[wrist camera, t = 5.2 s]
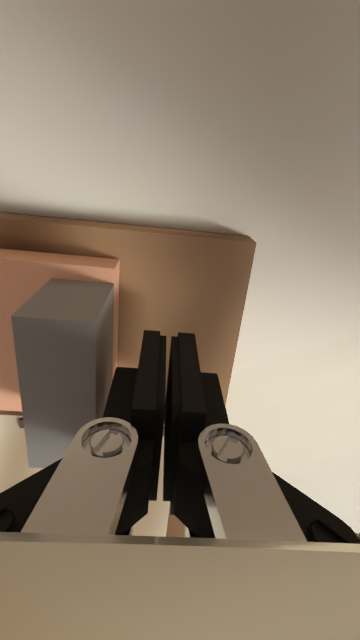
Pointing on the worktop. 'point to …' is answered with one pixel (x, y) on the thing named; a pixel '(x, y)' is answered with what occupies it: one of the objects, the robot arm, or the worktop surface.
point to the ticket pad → (145, 310)
